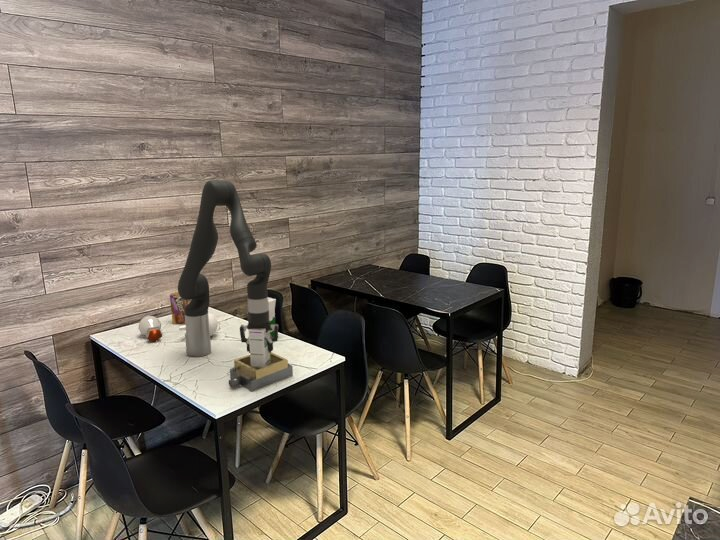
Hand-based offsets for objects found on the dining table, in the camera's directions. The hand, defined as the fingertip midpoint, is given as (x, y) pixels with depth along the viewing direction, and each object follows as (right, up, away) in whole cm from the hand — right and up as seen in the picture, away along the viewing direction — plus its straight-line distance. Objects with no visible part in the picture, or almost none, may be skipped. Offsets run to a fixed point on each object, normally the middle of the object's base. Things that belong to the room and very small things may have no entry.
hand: (260, 351), depth 184 cm
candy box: (-50, +4, +60) cm, 78 cm away
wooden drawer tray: (-1, -10, +1) cm, 10 cm away
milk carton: (-6, -1, +41) cm, 41 cm away
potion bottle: (-57, 0, +42) cm, 70 cm away
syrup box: (0, -5, +1) cm, 5 cm away
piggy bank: (-36, 0, +43) cm, 56 cm away
